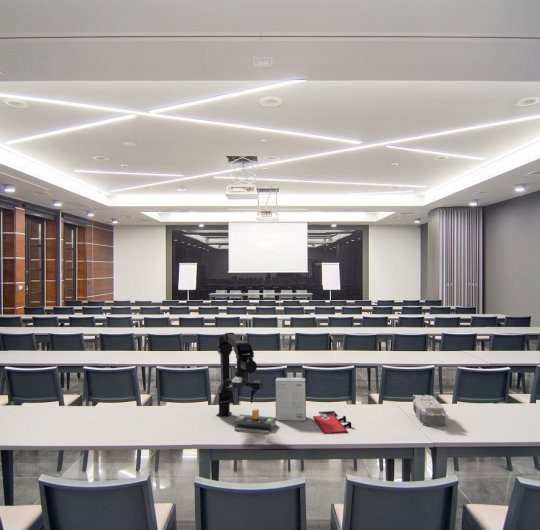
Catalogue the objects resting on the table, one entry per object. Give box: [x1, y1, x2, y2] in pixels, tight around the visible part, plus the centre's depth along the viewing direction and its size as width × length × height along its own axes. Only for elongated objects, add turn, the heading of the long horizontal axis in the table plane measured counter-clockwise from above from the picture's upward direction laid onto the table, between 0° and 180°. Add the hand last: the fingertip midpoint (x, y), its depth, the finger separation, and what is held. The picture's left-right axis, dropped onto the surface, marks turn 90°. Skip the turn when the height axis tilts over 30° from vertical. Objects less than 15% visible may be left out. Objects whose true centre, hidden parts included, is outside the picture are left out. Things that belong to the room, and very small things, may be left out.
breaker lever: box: [251, 408, 260, 419], centre depth 203 cm, size 3×2×4 cm
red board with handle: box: [312, 410, 352, 435], centre depth 209 cm, size 30×3×15 cm
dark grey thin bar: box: [234, 426, 269, 435], centre depth 196 cm, size 2×16×1 cm, turn 74°
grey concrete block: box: [412, 394, 448, 427], centre depth 212 cm, size 12×28×10 cm, turn 177°
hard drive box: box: [274, 377, 307, 422], centre depth 215 cm, size 16×8×20 cm, turn 84°
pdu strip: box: [234, 414, 277, 432], centre depth 203 cm, size 9×18×4 cm, turn 74°
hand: (242, 402), depth 198 cm, fingers open, 9 cm apart
